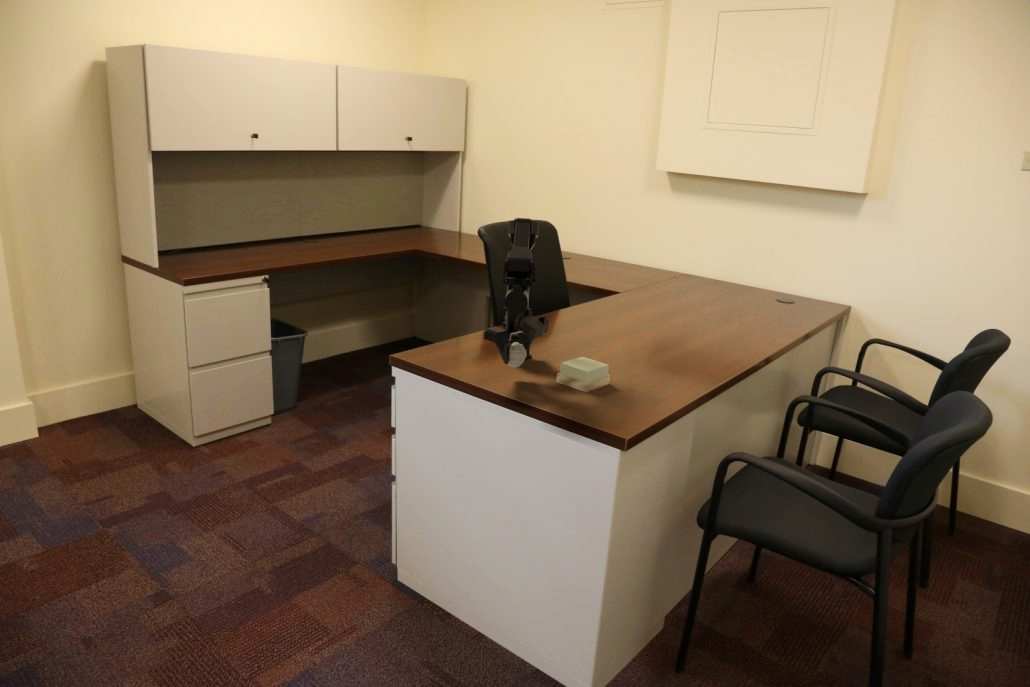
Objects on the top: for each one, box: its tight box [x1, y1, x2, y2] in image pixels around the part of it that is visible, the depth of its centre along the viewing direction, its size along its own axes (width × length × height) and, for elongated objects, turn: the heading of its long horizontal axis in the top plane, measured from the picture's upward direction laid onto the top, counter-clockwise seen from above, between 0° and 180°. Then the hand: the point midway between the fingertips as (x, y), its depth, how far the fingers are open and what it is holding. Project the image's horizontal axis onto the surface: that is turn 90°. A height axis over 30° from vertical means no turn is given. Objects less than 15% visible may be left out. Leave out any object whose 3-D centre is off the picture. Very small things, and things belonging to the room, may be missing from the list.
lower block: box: [556, 372, 611, 393], centre depth 191 cm, size 10×10×3 cm
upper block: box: [559, 356, 610, 383], centre depth 190 cm, size 9×9×3 cm
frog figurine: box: [507, 342, 527, 368], centre depth 190 cm, size 6×7×7 cm
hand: (514, 361), depth 191 cm, fingers closed on frog figurine, 6 cm apart
